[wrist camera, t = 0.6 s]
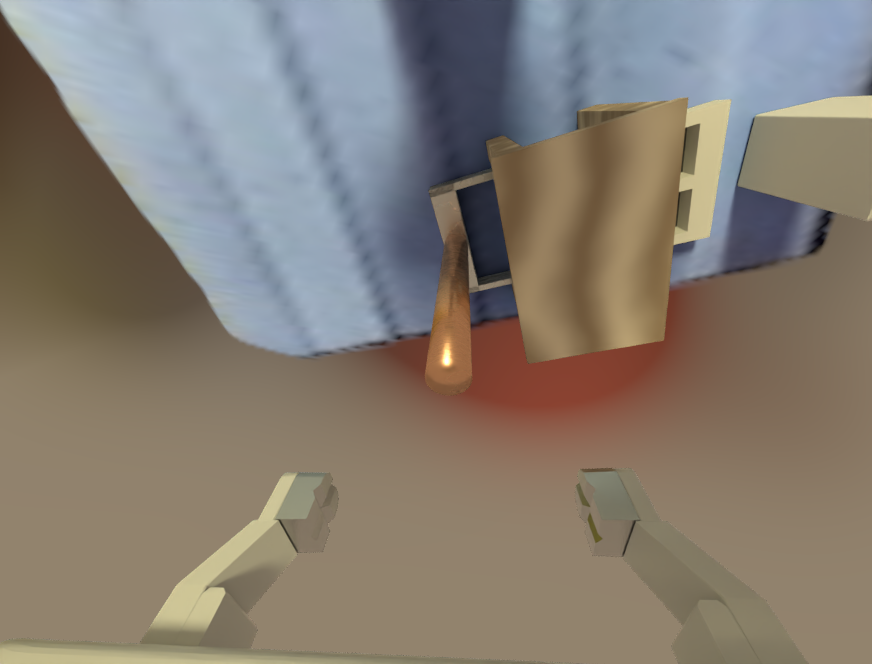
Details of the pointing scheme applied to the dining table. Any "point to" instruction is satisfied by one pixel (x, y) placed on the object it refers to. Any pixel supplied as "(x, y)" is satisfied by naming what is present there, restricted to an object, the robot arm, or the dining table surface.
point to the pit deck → (700, 169)
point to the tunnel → (592, 227)
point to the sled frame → (455, 291)
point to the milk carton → (814, 155)
